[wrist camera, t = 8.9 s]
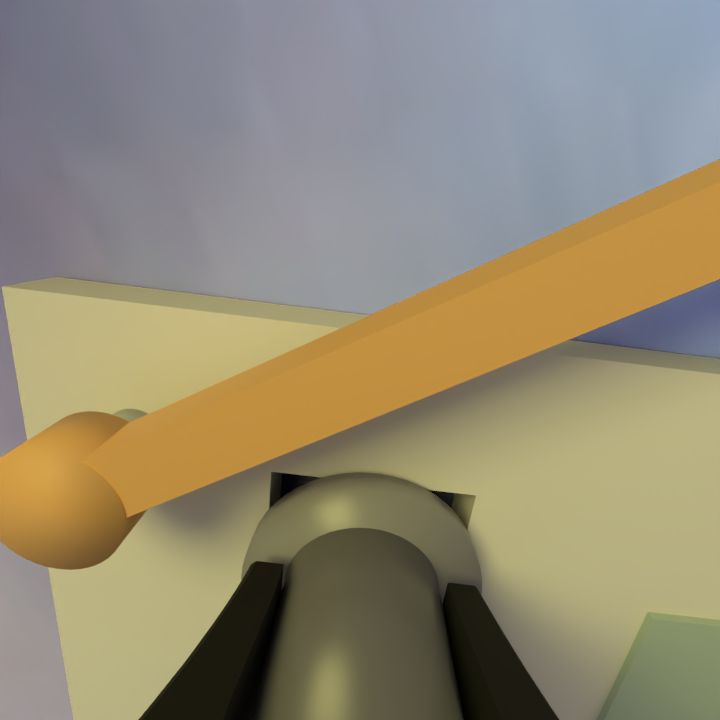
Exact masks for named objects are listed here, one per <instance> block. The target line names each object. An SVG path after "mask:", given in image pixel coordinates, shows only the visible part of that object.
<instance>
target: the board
mask: <svg viewBox="0 0 720 720" xmlns="http://www.w3.org/2000/svg"><path fill="white" fill-rule="evenodd" d="M2 291H3V297H4V303H5V309H6V315H7V321H8V327H9V333H10V339H11V345H12V351H13V357H14V363H15V369H16V375H17V381H18V387H19V393H20V399H21V405H22V411H23V417H24V423H25V430H26V436H27V441H28V440H29V439H31V438H32V437H34V436H35V435H37V434H39V433H40V432H42V431H43V430H45V429H46V428H48V427H50V426H51V425H53V424H54V423H56V422H57V421H59V420H61V419H62V418H64V417H66V416H68V415H71V414H74V413H78V412H86V411H97V412H104V413H108V414H112V415H115V416H118V417H120V418H122V419H124V420H126V421H128V422H132V421H134V420H136V419H139V418H141V417H143V416H145V415H148V414H150V413H152V412H154V411H156V410H159V409H161V408H163V407H165V406H168V405H170V404H172V403H174V402H177V401H179V400H181V399H183V398H186V397H188V396H190V395H192V394H195V393H197V392H199V391H201V390H204V389H206V388H208V387H210V386H213V385H215V384H217V383H219V382H221V381H224V380H226V379H228V378H230V377H233V376H235V375H237V374H239V373H242V372H244V371H246V370H248V369H251V368H253V367H255V366H257V365H260V364H262V363H264V362H266V361H269V360H271V359H273V358H275V357H278V356H280V355H282V354H284V353H286V352H289V351H291V350H293V349H295V348H298V347H300V346H302V345H304V344H307V343H309V342H311V341H313V340H316V339H318V338H320V337H322V336H325V335H327V334H329V333H331V332H334V331H336V330H338V329H340V328H343V327H345V326H347V325H349V324H351V323H354V322H356V321H358V320H360V319H363V318H365V317H367V316H369V315H361V314H353V313H345V312H337V311H329V310H321V309H313V308H305V307H297V306H288V305H280V304H272V303H264V302H256V301H248V300H240V299H232V298H223V297H215V296H207V295H199V294H191V293H183V292H175V291H167V290H159V289H150V288H142V287H134V286H126V285H118V284H110V283H102V282H94V281H85V280H77V279H69V278H61V277H53V278H48V279H42V280H36V281H30V282H25V283H19V284H13V285H7V286H2ZM282 473H287V474H296V475H304V476H313V477H322V478H323V477H326V476H331V475H337V474H343V473H376V474H382V475H388V476H393V477H396V478H400V479H403V480H407V481H409V482H412V483H414V484H416V485H419V486H421V487H423V488H425V489H426V490H433V491H442V492H450V493H455V494H454V498H453V502H452V507H451V509H452V510H453V511H454V512H455V513H456V514H457V515H458V516H459V518H460V519H461V521H462V522H463V523H464V525H465V527H466V529H467V531H468V533H469V534H470V537H471V540H472V543H473V546H474V549H475V552H476V555H477V558H478V562H479V565H480V568H481V575H482V594H481V595H482V597H483V599H484V600H485V602H486V604H487V606H488V607H489V609H490V611H491V612H492V614H493V616H494V617H495V619H496V621H497V623H498V624H499V626H500V628H501V629H502V631H503V633H504V634H505V636H506V637H507V639H508V641H509V642H510V644H511V646H512V647H513V649H514V651H515V652H516V654H517V655H518V657H519V659H520V660H521V662H522V663H523V665H524V667H525V668H526V670H527V671H528V673H529V674H530V676H531V677H532V679H533V680H534V682H535V683H536V685H537V687H538V688H539V690H540V691H541V693H542V694H543V696H544V697H545V699H546V700H547V702H548V703H549V705H550V706H551V708H552V709H553V711H554V712H555V714H556V715H557V717H558V718H559V720H720V359H719V358H710V357H702V356H694V355H686V354H678V353H670V352H662V351H654V350H646V349H637V348H629V347H621V346H613V345H605V344H597V343H589V342H581V341H572V340H567V341H565V342H562V343H560V344H557V345H555V346H552V347H550V348H547V349H545V350H542V351H540V352H537V353H535V354H532V355H530V356H527V357H525V358H522V359H520V360H517V361H515V362H512V363H510V364H507V365H505V366H502V367H500V368H497V369H495V370H492V371H490V372H488V373H485V374H483V375H480V376H478V377H475V378H473V379H470V380H468V381H465V382H463V383H460V384H458V385H455V386H453V387H450V388H448V389H445V390H443V391H440V392H438V393H435V394H433V395H430V396H428V397H425V398H423V399H420V400H418V401H415V402H413V403H410V404H408V405H405V406H403V407H400V408H398V409H396V410H393V411H391V412H388V413H386V414H383V415H381V416H378V417H376V418H373V419H371V420H368V421H366V422H363V423H361V424H358V425H356V426H353V427H351V428H348V429H346V430H343V431H341V432H338V433H336V434H333V435H331V436H328V437H326V438H323V439H321V440H318V441H316V442H313V443H311V444H308V445H306V446H304V447H301V448H299V449H296V450H294V451H291V452H289V453H286V454H284V455H281V456H279V457H276V458H274V459H271V460H269V461H266V462H264V463H261V464H259V465H256V466H254V467H251V468H249V469H246V470H244V471H241V472H239V473H236V474H234V475H231V476H229V477H226V478H224V479H221V480H219V481H216V482H214V483H212V484H209V485H207V486H204V487H202V488H199V489H197V490H194V491H192V492H189V493H187V494H184V495H182V496H179V497H177V498H174V499H172V500H169V501H167V502H164V503H162V504H159V505H157V506H154V507H152V508H149V509H148V510H147V511H146V512H145V513H144V515H143V516H142V517H141V519H140V520H139V521H138V522H137V524H136V525H135V526H134V528H133V529H132V530H131V531H130V533H129V534H128V535H127V537H126V538H125V539H124V541H123V542H122V543H121V544H120V546H119V547H118V548H117V550H116V551H115V552H114V553H113V554H112V555H111V556H110V557H109V558H108V559H106V560H105V561H103V562H102V563H99V564H97V565H95V566H92V567H89V568H84V569H75V570H65V569H56V568H51V567H48V568H49V574H50V580H51V586H52V592H53V598H54V604H55V610H56V617H57V623H58V629H59V635H60V641H61V647H62V653H63V659H64V665H65V671H66V677H67V683H68V689H69V695H70V701H71V707H72V713H73V719H74V720H138V719H139V718H140V717H141V716H142V715H143V713H144V712H145V711H146V710H147V709H148V707H149V706H150V705H151V704H152V702H153V701H154V700H155V699H156V697H157V696H158V695H159V694H160V692H161V691H162V690H163V689H164V687H165V686H166V685H167V684H168V682H169V681H170V680H171V679H172V677H173V676H174V675H175V674H176V672H177V671H178V670H179V669H180V667H181V666H182V665H183V664H184V662H185V661H186V660H187V658H188V657H189V656H190V654H191V653H192V652H193V650H194V649H195V648H196V646H197V645H198V643H199V642H200V641H201V639H202V638H203V637H204V635H205V634H206V633H207V631H208V630H209V628H210V627H211V626H212V624H213V623H214V622H215V620H216V619H217V617H218V616H219V614H220V613H221V611H222V610H223V608H224V607H225V605H226V604H227V603H228V601H229V600H230V598H231V596H232V595H233V593H234V592H235V590H236V589H237V587H238V585H239V584H240V582H241V575H242V566H243V562H244V559H245V555H246V552H247V550H248V547H249V544H250V542H251V539H252V536H253V534H254V532H255V530H256V527H257V525H258V523H259V522H260V520H261V519H262V517H263V516H264V515H265V513H266V512H267V511H268V510H269V509H270V508H271V507H272V506H273V505H274V503H275V502H277V501H278V500H279V499H280V494H281V479H282Z"/></svg>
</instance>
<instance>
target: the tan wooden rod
mask: <svg viewBox="0 0 720 720" xmlns="http://www.w3.org/2000/svg"><path fill="white" fill-rule="evenodd" d="M719 279H720V159H719V160H717V161H715V162H712V163H710V164H708V165H706V166H703V167H701V168H699V169H697V170H694V171H692V172H690V173H688V174H685V175H683V176H681V177H679V178H676V179H674V180H672V181H670V182H668V183H665V184H663V185H661V186H659V187H656V188H654V189H652V190H650V191H647V192H645V193H643V194H641V195H638V196H636V197H634V198H632V199H629V200H627V201H625V202H623V203H620V204H618V205H616V206H614V207H611V208H609V209H607V210H605V211H603V212H600V213H598V214H596V215H594V216H591V217H589V218H587V219H585V220H582V221H580V222H578V223H576V224H573V225H571V226H569V227H567V228H564V229H562V230H560V231H558V232H555V233H553V234H551V235H549V236H546V237H544V238H542V239H540V240H538V241H535V242H533V243H531V244H529V245H526V246H524V247H522V248H520V249H517V250H515V251H513V252H511V253H508V254H506V255H504V256H502V257H499V258H497V259H495V260H493V261H490V262H488V263H486V264H484V265H481V266H479V267H477V268H475V269H473V270H470V271H468V272H466V273H464V274H461V275H459V276H457V277H455V278H452V279H450V280H448V281H446V282H443V283H441V284H439V285H437V286H434V287H432V288H430V289H428V290H425V291H423V292H421V293H419V294H416V295H414V296H412V297H410V298H408V299H405V300H403V301H401V302H399V303H396V304H394V305H392V306H390V307H387V308H385V309H383V310H381V311H378V312H376V313H374V314H372V315H369V316H367V317H365V318H363V319H360V320H358V321H356V322H354V323H351V324H349V325H347V326H345V327H343V328H340V329H338V330H336V331H334V332H331V333H329V334H327V335H325V336H322V337H320V338H318V339H316V340H313V341H311V342H309V343H307V344H304V345H302V346H300V347H298V348H295V349H293V350H291V351H289V352H286V353H284V354H282V355H280V356H278V357H275V358H273V359H271V360H269V361H266V362H264V363H262V364H260V365H257V366H255V367H253V368H251V369H248V370H246V371H244V372H242V373H239V374H237V375H235V376H233V377H230V378H228V379H226V380H224V381H221V382H219V383H217V384H215V385H213V386H210V387H208V388H206V389H204V390H201V391H199V392H197V393H195V394H192V395H190V396H188V397H186V398H183V399H181V400H179V401H177V402H174V403H172V404H170V405H168V406H165V407H163V408H161V409H159V410H156V411H154V412H152V413H150V414H148V415H145V416H143V417H141V418H139V419H136V420H134V421H132V422H128V421H126V420H124V419H122V418H120V417H118V416H115V415H112V414H108V413H104V412H97V411H86V412H78V413H74V414H71V415H68V416H66V417H64V418H62V419H61V420H59V421H57V422H56V423H54V424H53V425H51V426H50V427H48V428H46V429H45V430H43V431H42V432H40V433H39V434H37V435H35V436H34V437H32V438H31V439H29V440H28V441H26V442H24V443H23V444H21V445H20V446H18V447H17V448H15V449H13V450H12V451H10V452H9V453H7V454H6V455H4V456H2V457H1V458H0V541H1V542H2V543H3V544H5V545H6V546H7V547H8V548H10V549H11V550H12V551H14V552H15V553H17V554H18V555H20V556H22V557H24V558H25V559H27V560H30V561H32V562H34V563H37V564H40V565H43V566H46V567H51V568H56V569H65V570H75V569H84V568H89V567H92V566H95V565H97V564H99V563H102V562H103V561H105V560H106V559H108V558H109V557H110V556H111V555H112V554H113V553H114V552H115V551H116V550H117V548H118V547H119V546H120V544H121V543H122V542H123V541H124V539H125V538H126V537H127V535H128V534H129V533H130V531H131V530H132V529H133V528H134V526H135V525H136V524H137V522H138V521H139V520H140V519H141V517H142V516H143V515H144V513H145V512H146V511H147V510H148V509H149V508H152V507H154V506H157V505H159V504H162V503H164V502H167V501H169V500H172V499H174V498H177V497H179V496H182V495H184V494H187V493H189V492H192V491H194V490H197V489H199V488H202V487H204V486H207V485H209V484H212V483H214V482H216V481H219V480H221V479H224V478H226V477H229V476H231V475H234V474H236V473H239V472H241V471H244V470H246V469H249V468H251V467H254V466H256V465H259V464H261V463H264V462H266V461H269V460H271V459H274V458H276V457H279V456H281V455H284V454H286V453H289V452H291V451H294V450H296V449H299V448H301V447H304V446H306V445H308V444H311V443H313V442H316V441H318V440H321V439H323V438H326V437H328V436H331V435H333V434H336V433H338V432H341V431H343V430H346V429H348V428H351V427H353V426H356V425H358V424H361V423H363V422H366V421H368V420H371V419H373V418H376V417H378V416H381V415H383V414H386V413H388V412H391V411H393V410H396V409H398V408H400V407H403V406H405V405H408V404H410V403H413V402H415V401H418V400H420V399H423V398H425V397H428V396H430V395H433V394H435V393H438V392H440V391H443V390H445V389H448V388H450V387H453V386H455V385H458V384H460V383H463V382H465V381H468V380H470V379H473V378H475V377H478V376H480V375H483V374H485V373H488V372H490V371H492V370H495V369H497V368H500V367H502V366H505V365H507V364H510V363H512V362H515V361H517V360H520V359H522V358H525V357H527V356H530V355H532V354H535V353H537V352H540V351H542V350H545V349H547V348H550V347H552V346H555V345H557V344H560V343H562V342H565V341H567V340H570V339H572V338H575V337H577V336H580V335H582V334H584V333H587V332H589V331H592V330H594V329H597V328H599V327H602V326H604V325H607V324H609V323H612V322H614V321H617V320H619V319H622V318H624V317H627V316H629V315H632V314H634V313H637V312H639V311H642V310H644V309H647V308H649V307H652V306H654V305H657V304H659V303H662V302H664V301H667V300H669V299H672V298H674V297H676V296H679V295H681V294H684V293H686V292H689V291H691V290H694V289H696V288H699V287H701V286H704V285H706V284H709V283H711V282H714V281H716V280H719Z"/></svg>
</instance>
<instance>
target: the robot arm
mask: <svg viewBox="0 0 720 720" xmlns="http://www.w3.org/2000/svg"><path fill="white" fill-rule="evenodd" d="M283 565H284V564H279V563H270V562H262V561H255V562H254V563H252V564H251V565H250V567H249V569H248V570H247V572H246V574H245V576H244V577H243V579H242V581H241V582H240V584H239V585H238V587H237V589H236V590H235V592H234V593H233V595H232V596H231V598H230V600H229V601H228V603H227V604H226V605H225V607H224V608H223V610H222V611H221V613H220V614H219V616H218V617H217V619H216V620H215V622H214V623H213V624H212V626H211V627H210V628H209V630H208V631H207V633H206V634H205V635H204V637H203V638H202V639H201V641H200V642H199V643H198V645H197V646H196V648H195V649H194V650H193V652H192V653H191V654H190V656H189V657H188V658H187V660H186V661H185V662H184V664H183V665H182V666H181V667H180V669H179V670H178V671H177V672H176V674H175V675H174V676H173V677H172V679H171V680H170V681H169V682H168V684H167V685H166V686H165V687H164V689H163V690H162V691H161V692H160V694H159V695H158V696H157V697H156V699H155V700H154V701H153V702H152V704H151V705H150V706H149V707H148V709H147V710H146V711H145V712H144V713H143V715H142V716H141V717H140V718H139V719H138V720H250V718H251V714H252V710H253V706H254V702H255V698H256V694H257V689H258V685H259V681H260V677H261V673H262V669H263V665H264V661H265V656H266V652H267V648H268V644H269V640H270V636H271V632H272V628H273V624H274V620H275V615H276V611H277V607H278V603H279V599H280V595H281V591H282V578H283ZM442 606H443V611H444V617H445V622H446V627H447V633H448V638H449V643H450V648H451V654H452V659H453V664H454V670H455V675H456V680H457V686H458V691H459V696H460V702H461V707H462V712H463V718H464V720H559V718H558V717H557V715H556V714H555V712H554V711H553V709H552V708H551V706H550V705H549V703H548V702H547V700H546V699H545V697H544V696H543V694H542V693H541V691H540V690H539V688H538V687H537V685H536V683H535V682H534V680H533V679H532V677H531V676H530V674H529V673H528V671H527V670H526V668H525V667H524V665H523V663H522V662H521V660H520V659H519V657H518V655H517V654H516V652H515V651H514V649H513V647H512V646H511V644H510V642H509V641H508V639H507V637H506V636H505V634H504V633H503V631H502V629H501V628H500V626H499V624H498V623H497V621H496V619H495V617H494V616H493V614H492V612H491V611H490V609H489V607H488V606H487V604H486V602H485V600H484V599H483V597H482V595H481V594H480V592H479V590H478V589H477V588H476V586H474V585H465V584H456V583H448V584H447V588H446V592H445V596H444V600H443V604H442Z"/></svg>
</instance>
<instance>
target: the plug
mask: <svg viewBox="0 0 720 720" xmlns="http://www.w3.org/2000/svg"><path fill="white" fill-rule="evenodd" d="M255 561H262V562H270V563H279V564H284V565H283V578H282V591H281V595H280V599H279V603H278V607H277V611H276V615H275V620H274V624H273V628H272V632H271V636H270V640H269V644H268V648H267V652H266V656H265V661H264V665H263V669H262V673H261V677H260V681H259V685H258V689H257V694H256V698H255V702H254V706H253V710H252V714H251V718H250V720H464V718H463V712H462V707H461V702H460V696H459V691H458V686H457V680H456V675H455V670H454V664H453V659H452V654H451V648H450V643H449V638H448V633H447V627H446V622H445V617H444V611H443V606H442V604H443V600H444V596H445V592H446V588H447V584H448V583H456V584H465V585H474V586H476V588H477V589H478V590H479V592H480V594H482V575H481V568H480V565H479V562H478V558H477V555H476V552H475V549H474V546H473V543H472V540H471V537H470V534H469V533H468V531H467V529H466V527H465V525H464V523H463V522H462V521H461V519H460V518H459V516H458V515H457V514H456V513H455V512H454V511H453V510H452V509H451V507H450V506H449V505H448V504H447V503H445V502H444V501H443V500H441V499H440V498H439V497H438V496H436V495H435V494H433V493H431V492H430V491H428V490H426V489H425V488H423V487H421V486H419V485H416V484H414V483H412V482H409V481H407V480H403V479H400V478H396V477H393V476H388V475H382V474H376V473H343V474H337V475H331V476H326V477H323V478H320V479H316V480H313V481H311V482H308V483H306V484H304V485H301V486H299V487H297V488H296V489H294V490H292V491H290V492H289V493H287V494H286V495H284V496H283V497H282V498H281V499H279V500H278V501H277V502H275V503H274V505H273V506H272V507H271V508H270V509H269V510H268V511H267V512H266V513H265V515H264V516H263V517H262V519H261V520H260V522H259V523H258V525H257V527H256V530H255V532H254V534H253V536H252V539H251V542H250V544H249V547H248V550H247V552H246V555H245V559H244V562H243V566H242V575H241V581H242V579H243V577H244V576H245V574H246V572H247V570H248V569H249V567H250V565H251V564H252V563H254V562H255Z"/></svg>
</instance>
